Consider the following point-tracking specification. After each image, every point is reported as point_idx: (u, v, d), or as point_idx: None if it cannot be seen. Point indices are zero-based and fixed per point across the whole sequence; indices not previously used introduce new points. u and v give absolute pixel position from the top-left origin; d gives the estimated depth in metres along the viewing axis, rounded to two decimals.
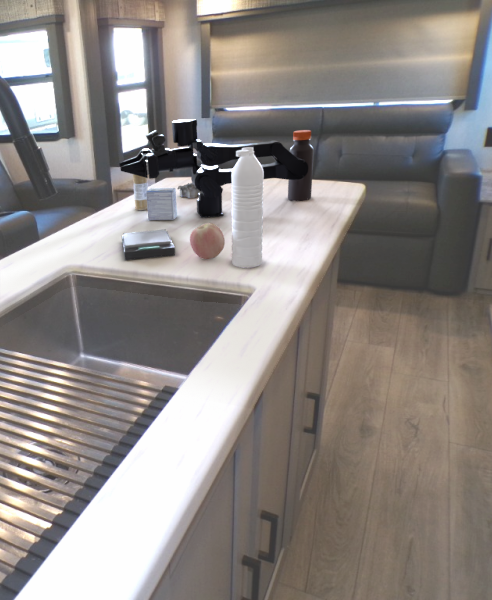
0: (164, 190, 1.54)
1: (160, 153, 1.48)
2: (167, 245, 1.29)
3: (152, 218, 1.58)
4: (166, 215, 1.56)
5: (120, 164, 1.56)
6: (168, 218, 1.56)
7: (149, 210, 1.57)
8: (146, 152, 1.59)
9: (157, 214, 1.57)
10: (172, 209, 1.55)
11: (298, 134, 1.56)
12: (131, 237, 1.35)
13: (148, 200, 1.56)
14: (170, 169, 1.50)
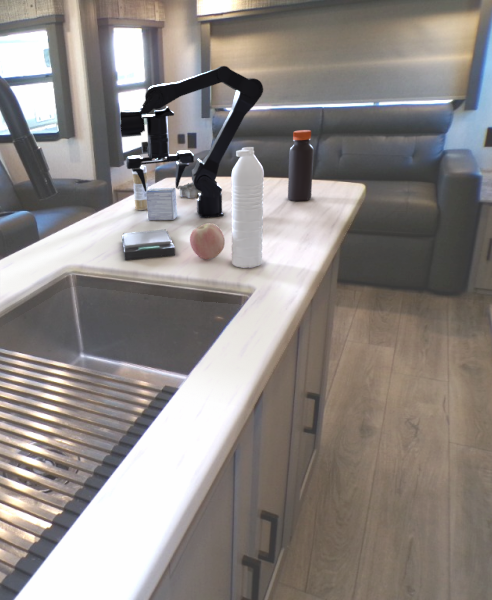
0: (164, 190, 1.54)
1: (147, 149, 1.53)
2: (167, 245, 1.29)
3: (152, 218, 1.58)
4: (166, 215, 1.56)
5: None
6: (168, 218, 1.56)
7: (149, 210, 1.57)
8: None
9: (157, 214, 1.57)
10: (172, 209, 1.55)
11: (298, 134, 1.56)
12: (131, 237, 1.35)
13: (148, 200, 1.56)
14: (150, 142, 1.48)
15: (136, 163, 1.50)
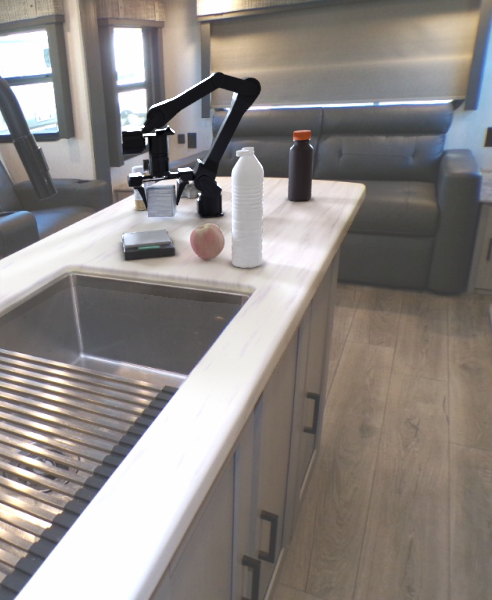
0: (164, 187, 1.54)
1: (148, 166, 1.55)
2: (167, 245, 1.29)
3: (152, 215, 1.58)
4: (166, 212, 1.56)
5: (176, 204, 1.58)
6: (168, 215, 1.56)
7: (149, 207, 1.57)
8: None
9: (157, 211, 1.56)
10: (172, 206, 1.54)
11: (298, 134, 1.56)
12: (131, 237, 1.35)
13: (148, 197, 1.56)
14: (151, 160, 1.50)
15: (137, 181, 1.52)
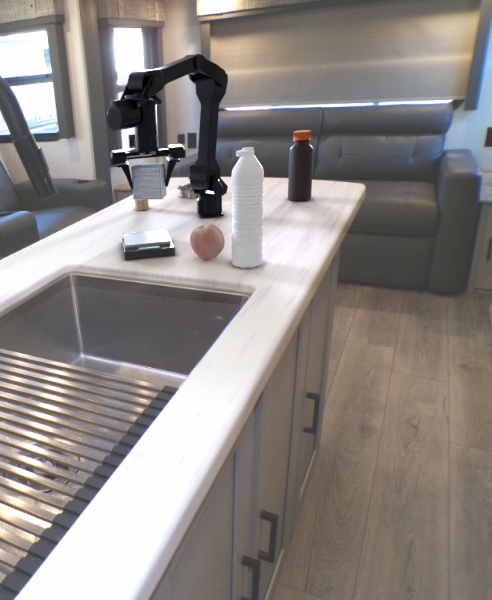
0: (151, 165, 1.36)
1: (134, 142, 1.37)
2: (167, 245, 1.29)
3: (138, 197, 1.39)
4: (154, 194, 1.37)
5: None
6: (156, 197, 1.38)
7: (134, 188, 1.39)
8: None
9: (143, 192, 1.38)
10: (160, 187, 1.36)
11: (298, 134, 1.56)
12: (131, 237, 1.35)
13: (133, 176, 1.37)
14: (137, 134, 1.32)
15: (121, 158, 1.33)
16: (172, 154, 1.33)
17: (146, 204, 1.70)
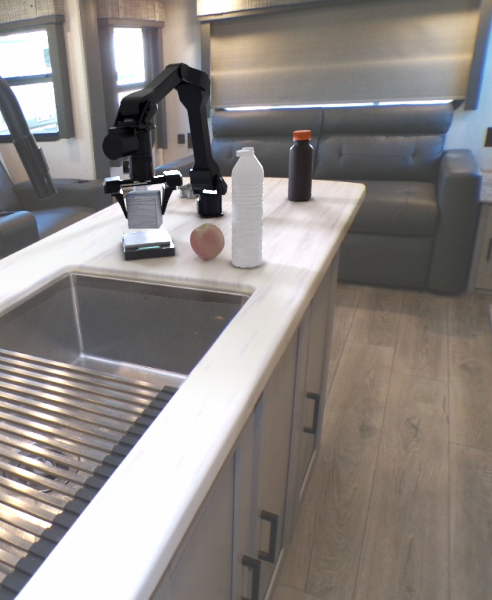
0: (147, 193, 1.29)
1: (128, 169, 1.30)
2: (167, 245, 1.29)
3: (133, 226, 1.32)
4: (150, 223, 1.31)
5: (162, 213, 1.32)
6: (152, 226, 1.31)
7: (129, 217, 1.32)
8: None
9: (139, 221, 1.31)
10: (156, 216, 1.29)
11: (298, 134, 1.56)
12: (131, 237, 1.35)
13: (128, 205, 1.30)
14: (131, 162, 1.25)
15: (114, 187, 1.26)
16: (168, 182, 1.26)
17: None
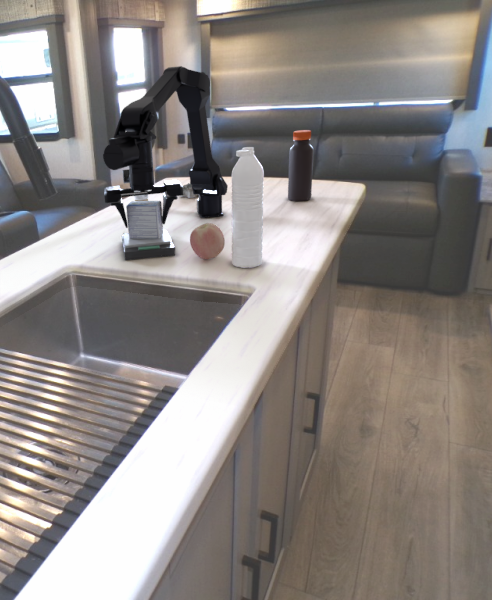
0: (147, 204, 1.30)
1: (129, 178, 1.31)
2: (167, 245, 1.29)
3: (134, 236, 1.33)
4: (150, 233, 1.32)
5: None
6: (152, 237, 1.32)
7: (130, 227, 1.33)
8: None
9: (139, 231, 1.32)
10: (157, 226, 1.30)
11: (298, 134, 1.56)
12: None
13: (129, 215, 1.31)
14: (131, 171, 1.26)
15: (115, 196, 1.27)
16: (169, 192, 1.27)
17: None
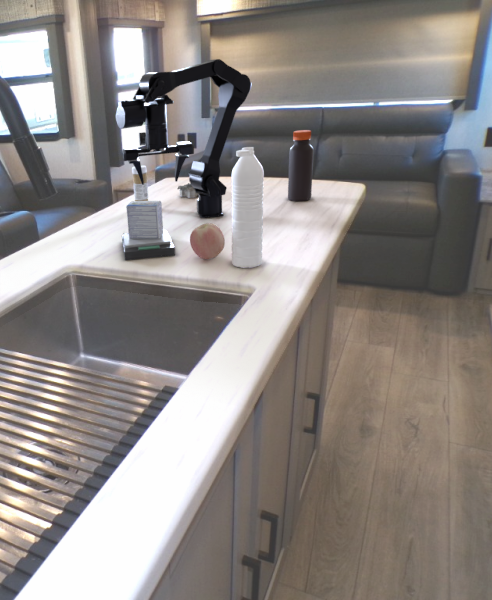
0: (147, 204, 1.30)
1: (145, 140, 1.46)
2: (167, 245, 1.29)
3: (134, 236, 1.33)
4: (150, 233, 1.32)
5: (175, 180, 1.48)
6: (152, 237, 1.32)
7: (130, 227, 1.33)
8: None
9: (139, 231, 1.32)
10: (157, 226, 1.30)
11: (298, 134, 1.56)
12: None
13: (129, 215, 1.31)
14: (148, 132, 1.40)
15: (133, 155, 1.42)
16: (181, 151, 1.42)
17: None
